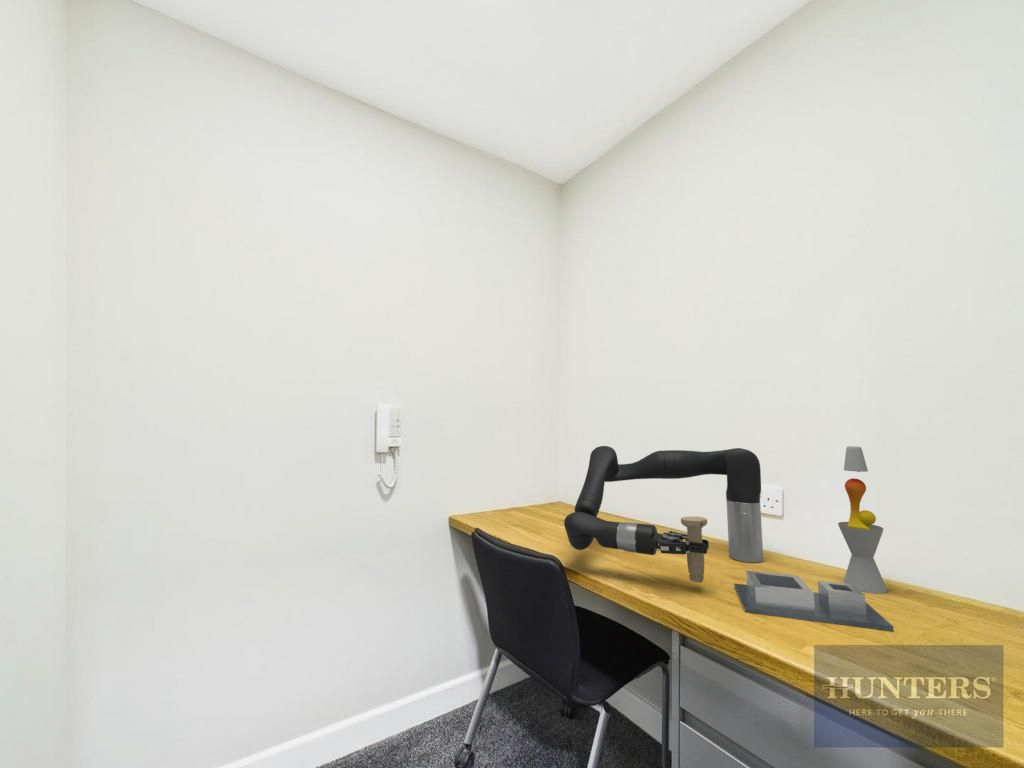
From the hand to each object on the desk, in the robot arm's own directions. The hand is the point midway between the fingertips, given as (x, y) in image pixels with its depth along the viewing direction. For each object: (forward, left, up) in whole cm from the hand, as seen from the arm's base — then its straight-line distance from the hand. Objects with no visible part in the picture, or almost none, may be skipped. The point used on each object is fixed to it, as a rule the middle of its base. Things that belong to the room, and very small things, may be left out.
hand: (707, 546), depth 105 cm
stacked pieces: (-17, +37, -11) cm, 42 cm away
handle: (-1, -3, -9) cm, 9 cm away
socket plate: (+2, +19, -11) cm, 22 cm away
